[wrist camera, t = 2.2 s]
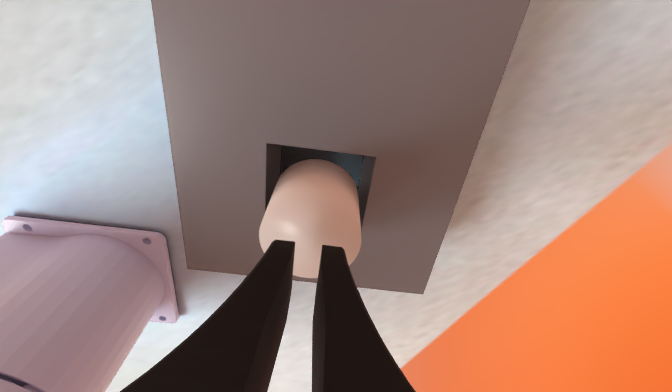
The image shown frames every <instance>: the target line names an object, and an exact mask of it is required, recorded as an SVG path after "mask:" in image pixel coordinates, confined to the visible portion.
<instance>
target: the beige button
mask: <svg viewBox="0 0 672 392" xmlns="http://www.w3.org/2000/svg"><path fill="white" fill-rule="evenodd" d="M259 240H260V245H261V247H262V250H263V252H264V253H265V252H266V250H267V249H268V247H269V246H270V244H271V242H273V241H274V240H285V241H294V242H295V252H294V265H293V275H295V276H299V277H304V278H318V273H319V266H320V258H321V251H322V245H329V246H337V247H342V248H343V249H344V250H345V254H346V258H347V262H348V265H350V264H351V263H352V262H353V261H354V260H355V258H356V257H357V255H358V253H359V251H360V247H361V225H360V211H359V198H358V190H357V186H356V183H355V182H354V180H353V178H352V177H351V175H350V174H349V173H348V172H347V171H346V170H345V169H343V168H342V167H341V166H339V165H337V164H335V163H333V162H330V161H327V160H322V159H308V160H303V161H300V162H297V163H295V164H293V165H291V166H290V167H288V168H287V169H286V170H285V171H284V172H283V173H282V174H281V176H280V177H279V179H278V181H277V183H276V186H275V189H274V191H273V194H272V196H271V199H270V202H269V204H268V207H267V209H266V212H265V215H264V217H263V220H262V222H261V225H260V229H259Z"/></svg>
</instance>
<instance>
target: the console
mask: <svg viewBox="0 0 672 392" xmlns="http://www.w3.org/2000/svg"><path fill="white" fill-rule="evenodd" d="M151 2H152V10H153V17H154V25H155V32H156V39H157V47H158V54H159V62H160V69H161V76H162V84H163V91H164V99H165V106H166V113H167V121H168V128H169V135H170V143H171V150H172V158H173V165H174V172H175V180H176V187H177V195H178V202H179V209H180V217H181V224H182V232H183V239H184V246H185V254H186V261H187V268H188V269H195V270H204V271H213V272H223V273H232V274H241V275H248V274H249V273H250V272H251V271H252V270H253V268H254V267H255V266H256V264H257V263H258V262H259V260H260V259H261V258H262V256H263V255H264V252H263V250H262V247H261V245H260V240H259V229H260V225H261V222H262V220H263V217H264V215H265V212H266V209H267V207H268V204H269V202H270V199H271V196H272V194H273V191H274V189H275V186H276V183H277V181H278V179H279V177H280V168H281V146H282V145H285V146H293V147H301V148H309V149H317V150H325V151H333V152H341V153H349V154H357V155H364V160H363V165H362V170H361V176H360V181H359V187H358V198H359V211H360V225H361V247H360V251H359V253H358V255H357V257H356V258H355V260H354V261H353V262H352V263H351V264H350V265H349V268H350V271H351V274H352V276H353V279H354V282H355V284H356V287H361V288H370V289H379V290H388V291H397V292H407V293H416V294H423V293H424V290H425V287H426V285H427V282H428V279H429V276H430V274H431V271H432V268H433V265H434V263H435V260H436V257H437V254H438V252H439V249H440V246H441V244H442V241H443V238H444V235H445V233H446V230H447V227H448V224H449V222H450V219H451V216H452V213H453V211H454V208H455V205H456V202H457V200H458V197H459V194H460V191H461V189H462V186H463V183H464V180H465V178H466V175H467V172H468V169H469V167H470V164H471V161H472V159H473V156H474V153H475V150H476V148H477V145H478V142H479V139H480V137H481V134H482V131H483V128H484V126H485V123H486V120H487V117H488V115H489V112H490V109H491V106H492V104H493V101H494V98H495V95H496V93H497V90H498V87H499V84H500V82H501V79H502V76H503V74H504V71H505V68H506V65H507V63H508V60H509V57H510V54H511V52H512V49H513V46H514V43H515V41H516V38H517V35H518V32H519V30H520V27H521V24H522V21H523V19H524V16H525V13H526V10H527V8H528V5H529V2H530V0H151ZM292 280H296V281H305V282H315V283H317V281H318V278H304V277H299V276H295V275H293V277H292Z"/></svg>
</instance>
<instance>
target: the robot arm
mask: <svg viewBox="0 0 672 392" xmlns="http://www.w3.org/2000/svg"><path fill="white" fill-rule="evenodd" d="M2 225H3V227H4V230H5V232H6V233H5V234H3V235H2V236H0V392H105V391H106V389H107V388H108V386H109V384H110V383H111V381H112V380H113V378H114V376H115V375H116V373H117V371H118V370H119V368H120V367H121V365H122V363H123V362H124V360H125V359H126V357H127V355H128V354H129V352H130V351H131V349H132V347H133V346H134V344H135V343H136V341H137V339H138V338H139V336H140V335H141V333H142V331H143V330H144V328H145V327H146V325H147V323H148V322H149V321H152V322H162V323H175V322H177V320H178V318H179V313H178V307H177V301H176V295H175V289H174V283H173V278H172V272H171V266H170V260H169V254H168V248H167V242H166V238H165V236H164V235H163V234H161V233H158V232H152V231H143V230H134V229H125V228H117V227H108V226H99V225H90V224H81V223H72V222H64V221H55V220H46V219H37V218H28V217H19V216H8V217H6V218H5V219H3V220H2ZM147 238H148V239H150V240H148V239H147ZM294 252H295V242H294V241H285V240H274V241H273V242H271V244H270V246H269V247H268V249H267V250H266V252H265V253H264V255H263V256H262V258H261V259H260V260H259V262H258V263H257V264H256V266H255V267H254V268H253V270H252V271H251V272H250V273H249V274H248V276H247V277H246V278H245V279H244V280H243V282H242V283H241V284H240V285H239V286H238V288H237V289H236V290H235V291H234V292H233V293H232V294H231V295H230V296H229V297H228V298H227V299H226V301H225V302H224V303H223V304H222V305H221V306H220V307H219V308H218V309H217V310H216V311H215V312H214V313H213V314H212V315H211V316H210V317H209V318H208V319H207V320H206V321H205V322H204V323H203V324H202V325H201V326H200V327H199V328H198V329H197V330H195V331H194V332H193V333H192V334H191V335H190V336H189V337H188V338H187V339H186V340H184V341H183V342H182V343H181V344H180V345H179V346H177V347H176V348H175V349H174V350H173V351H171V352H170V353H169V354H168V355H167V356H166V357H164V358H163V359H162V360H161V361H159V362H158V363H157V364H156V365H155V366H153V367H152V368H151V369H149V370H148V371H147V372H146V373H144V374H143V375H142V376H140V377H139V378H138V379H136V380H135V381H134V382H132V383H131V384H130V385H128V386H127V387H125V388H124V389H123V390H121V391H120V392H267V390H268V387H269V383H270V379H271V375H272V372H273V368H274V364H275V361H276V357H277V353H278V350H279V346H280V342H281V339H282V335H283V331H284V328H285V324H286V320H287V314H288V308H289V302H290V296H291V289H292V277H293V265H294ZM312 392H415V390H414V389H413V387H412V386H411V385H410V383H409V382H408V380H407V379H406V377H405V376H404V374H403V373H402V371H401V370H400V368H399V367H398V365H397V364H396V362H395V360H394V359H393V357H392V355H391V354H390V352H389V350H388V349H387V347H386V345H385V344H384V342H383V340H382V338H381V337H380V335H379V333H378V331H377V329H376V327H375V325H374V323H373V322H372V320H371V318H370V316H369V314H368V312H367V309H366V307H365V305H364V303H363V301H362V298H361V296H360V294H359V292H358V289H357V287H356V284H355V282H354V279H353V276H352V274H351V271H350V268H349V265H348V262H347V258H346V254H345V250H344V249H343V248H342V247H337V246H329V245H322V251H321V258H320V266H319V273H318V281H317V288H316V296H315V306H314V315H313V336H312Z"/></svg>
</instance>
